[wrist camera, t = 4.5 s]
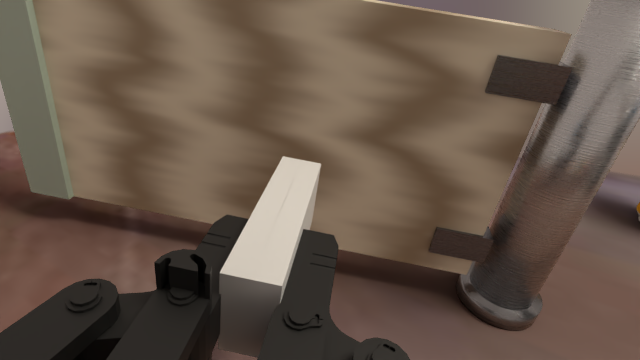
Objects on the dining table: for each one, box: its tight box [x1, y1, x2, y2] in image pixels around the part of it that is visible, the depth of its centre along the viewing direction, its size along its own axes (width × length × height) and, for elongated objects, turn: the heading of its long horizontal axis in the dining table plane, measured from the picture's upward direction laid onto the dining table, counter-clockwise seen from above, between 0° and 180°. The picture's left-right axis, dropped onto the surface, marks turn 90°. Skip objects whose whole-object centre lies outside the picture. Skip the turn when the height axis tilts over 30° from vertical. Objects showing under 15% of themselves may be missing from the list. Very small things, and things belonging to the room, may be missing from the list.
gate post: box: [456, 0, 640, 330], centre depth 18 cm, size 5×5×21 cm
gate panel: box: [0, 0, 572, 275], centre depth 20 cm, size 26×2×14 cm, turn 82°
